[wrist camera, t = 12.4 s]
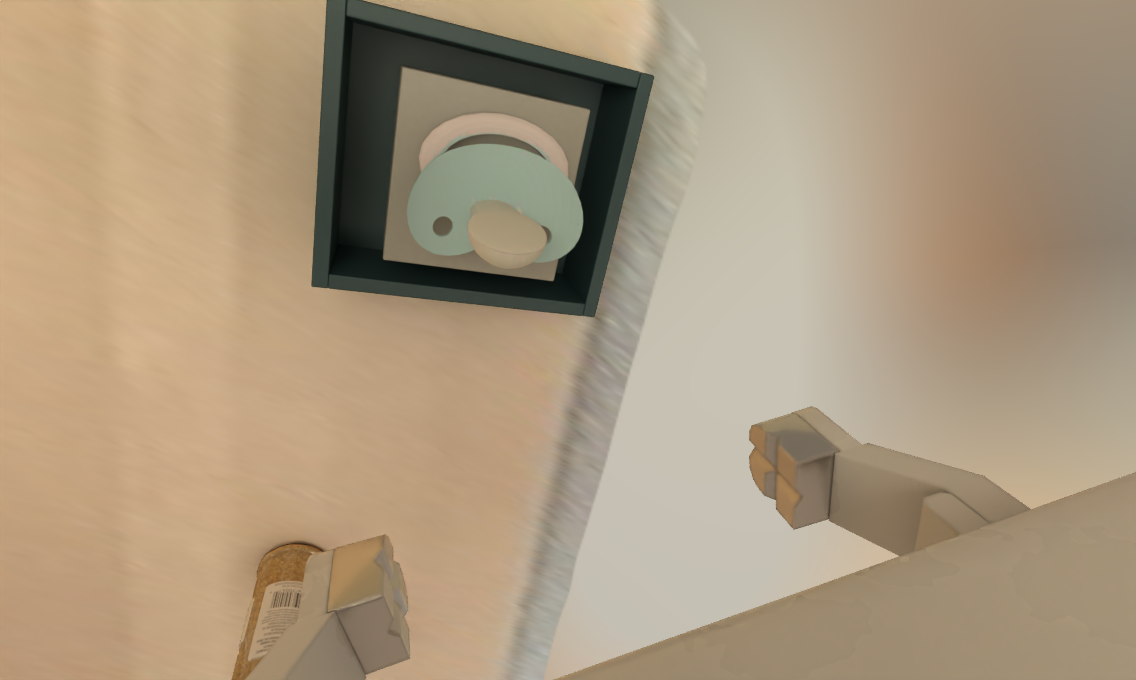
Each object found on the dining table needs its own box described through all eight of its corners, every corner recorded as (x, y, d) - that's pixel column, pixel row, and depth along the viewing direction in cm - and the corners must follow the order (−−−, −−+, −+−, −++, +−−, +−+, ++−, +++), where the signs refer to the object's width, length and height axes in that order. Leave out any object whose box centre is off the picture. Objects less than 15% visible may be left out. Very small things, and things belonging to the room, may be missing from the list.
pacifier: (410, 99, 24) (403, 244, 26) (416, 105, 19) (406, 288, 21) (581, 125, 26) (562, 257, 28) (632, 137, 21) (603, 300, 23)
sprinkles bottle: (244, 576, 40) (181, 796, 28) (285, 530, 39) (238, 736, 27) (305, 600, 42) (271, 814, 30) (346, 556, 41) (327, 758, 29)
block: (384, 226, 32) (382, 260, 26) (400, 64, 29) (401, 66, 23) (529, 247, 34) (553, 281, 29) (558, 100, 31) (591, 109, 26)
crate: (324, 250, 32) (311, 286, 27) (339, 2, 28) (326, -9, 23) (567, 281, 36) (594, 317, 31) (614, 72, 32) (655, 75, 27)
